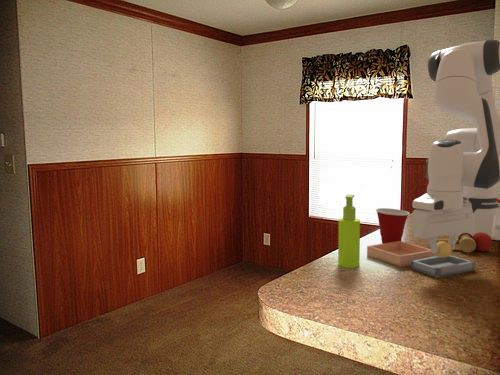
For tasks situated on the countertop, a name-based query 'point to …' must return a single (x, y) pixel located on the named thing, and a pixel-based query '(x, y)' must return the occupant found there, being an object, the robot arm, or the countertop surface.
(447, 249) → the ball
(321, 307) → the countertop surface
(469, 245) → the kendama
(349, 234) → the soap dispenser
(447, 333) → the countertop surface
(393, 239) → the plastic cup
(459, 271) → the tray
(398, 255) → the dish
